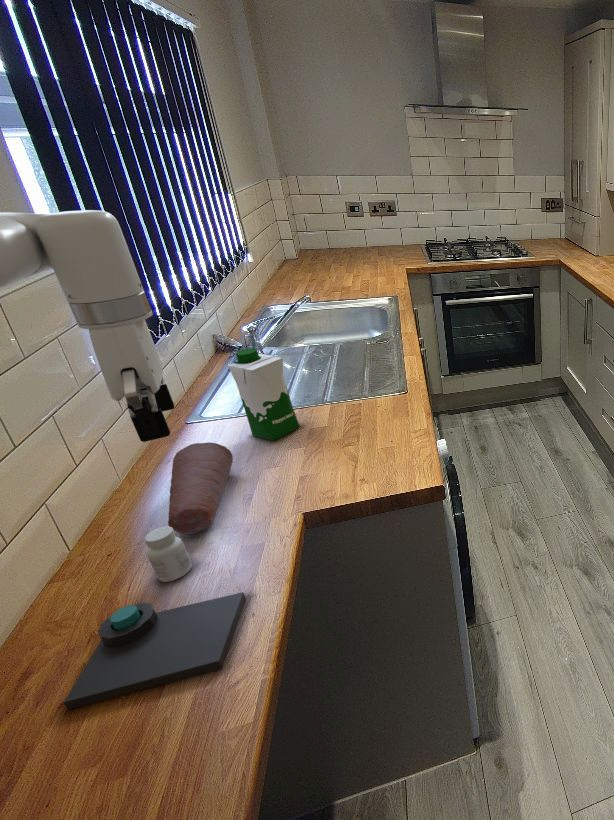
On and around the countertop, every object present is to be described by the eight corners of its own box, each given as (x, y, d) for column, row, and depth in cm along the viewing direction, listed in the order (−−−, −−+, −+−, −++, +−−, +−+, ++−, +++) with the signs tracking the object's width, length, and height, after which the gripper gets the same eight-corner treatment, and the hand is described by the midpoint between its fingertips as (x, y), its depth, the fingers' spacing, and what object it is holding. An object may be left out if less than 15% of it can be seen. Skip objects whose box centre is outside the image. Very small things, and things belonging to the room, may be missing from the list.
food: (182, 485, 104) (166, 447, 101) (238, 470, 109) (225, 433, 106) (171, 548, 88) (152, 504, 84) (237, 527, 93) (222, 485, 89)
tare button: (110, 632, 70) (105, 624, 69) (119, 616, 72) (115, 608, 71) (135, 626, 70) (131, 618, 70) (144, 610, 73) (140, 602, 72)
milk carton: (279, 419, 129) (257, 343, 121) (306, 425, 126) (285, 348, 118) (246, 436, 122) (219, 357, 114) (273, 444, 119) (248, 362, 111)
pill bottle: (190, 558, 86) (174, 520, 83) (195, 572, 83) (178, 533, 80) (156, 572, 83) (138, 533, 80) (160, 587, 80) (142, 548, 77)
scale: (67, 710, 63) (57, 693, 62) (118, 625, 74) (109, 609, 73) (222, 668, 68) (215, 652, 66) (247, 594, 79) (241, 579, 77)
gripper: (87, 300, 73) (133, 408, 80) (58, 333, 60) (116, 459, 67) (154, 291, 77) (193, 395, 84) (142, 320, 64) (189, 441, 71)
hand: (159, 423), depth 75 cm, fingers open, 9 cm apart
